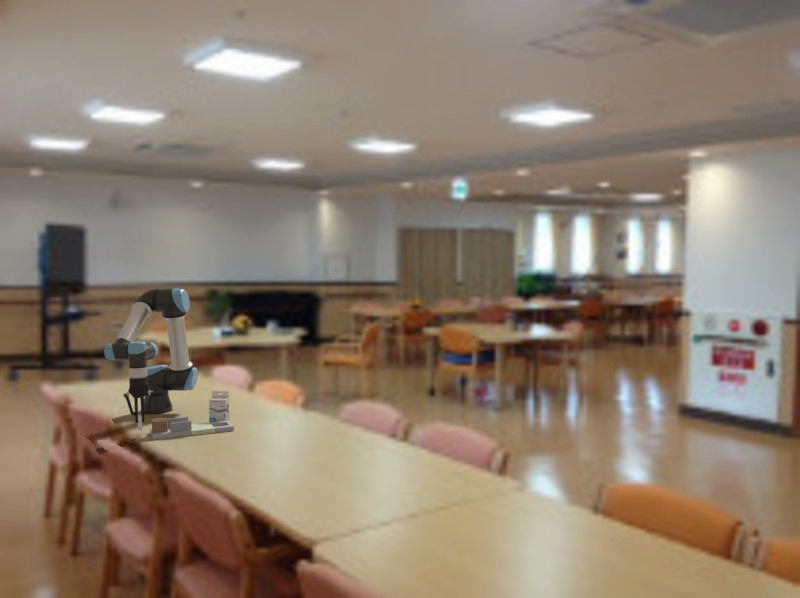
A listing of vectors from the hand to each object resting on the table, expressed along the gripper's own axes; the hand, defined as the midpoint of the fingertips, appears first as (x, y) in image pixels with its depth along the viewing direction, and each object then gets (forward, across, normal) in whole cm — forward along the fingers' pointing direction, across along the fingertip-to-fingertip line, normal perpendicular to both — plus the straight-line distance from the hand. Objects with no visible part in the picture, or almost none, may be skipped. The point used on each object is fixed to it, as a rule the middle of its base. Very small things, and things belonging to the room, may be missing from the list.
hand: (140, 429), depth 318 cm
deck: (+3, +22, 0) cm, 23 cm away
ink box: (+4, +37, +13) cm, 39 cm away
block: (+1, +8, 0) cm, 8 cm away
